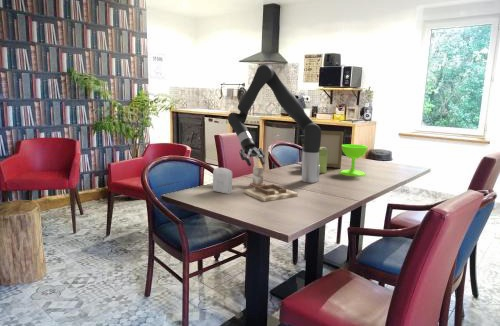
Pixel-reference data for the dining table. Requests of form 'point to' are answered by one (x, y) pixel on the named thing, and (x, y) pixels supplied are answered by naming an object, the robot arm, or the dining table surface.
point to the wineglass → (353, 158)
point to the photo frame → (332, 147)
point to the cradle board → (270, 192)
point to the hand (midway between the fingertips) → (257, 164)
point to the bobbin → (257, 176)
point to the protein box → (321, 159)
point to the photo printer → (222, 180)
